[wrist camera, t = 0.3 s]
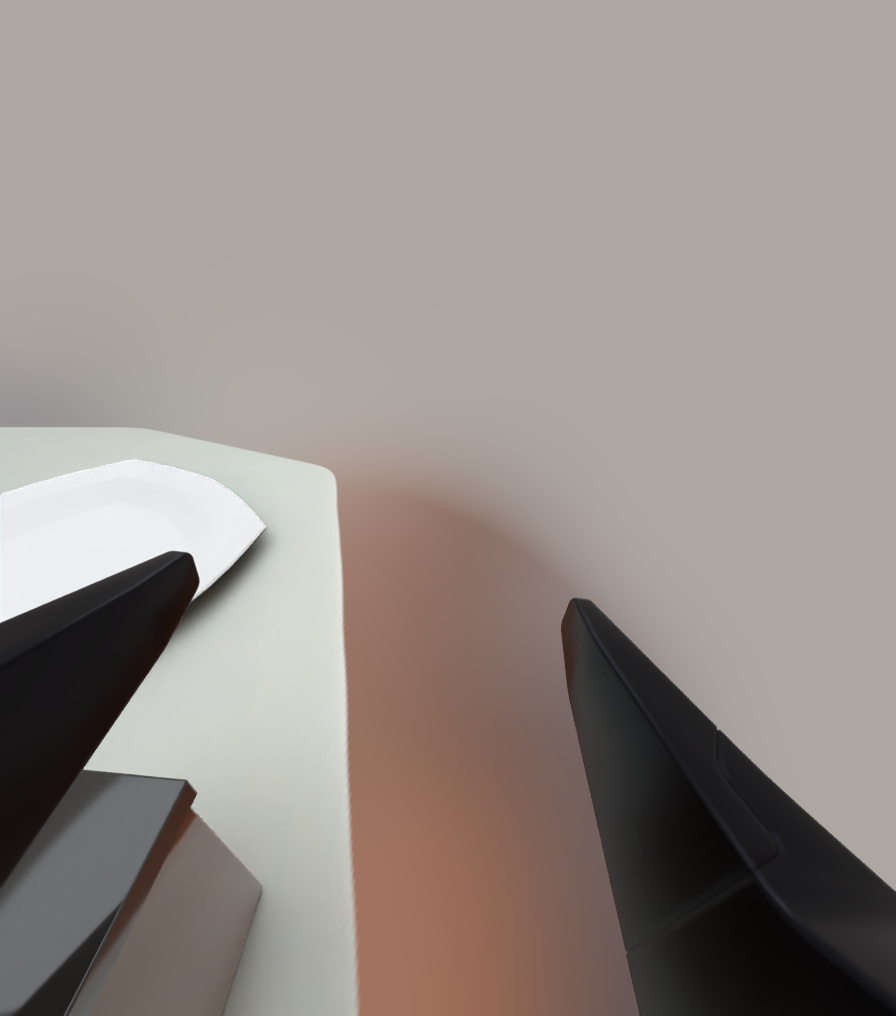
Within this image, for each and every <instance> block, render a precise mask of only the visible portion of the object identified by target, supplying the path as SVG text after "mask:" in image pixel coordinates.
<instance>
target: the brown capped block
mask: <svg viewBox="0 0 896 1016" xmlns="http://www.w3.org/2000/svg"><path fill="white" fill-rule="evenodd" d="M196 795H197V792H196V790H195V789H194V788H193V787H192V785H191V784H190V783H189V782H188V781H187V780H184V779H174V778H164V777H154V776H144V775H134V774H123V773H113V772H103V771H93V770H82V771H81V772H80V774H79V775H78V777H77V778H76V780H75V781H74V783H73V784H72V786H71V787H70V789H69V790H68V791H67V793H66V794H65V796H64V797H63V799H62V800H61V802H60V803H59V805H58V806H57V808H56V809H55V810H54V812H53V813H52V815H51V816H50V818H49V819H48V821H47V822H46V824H45V825H44V827H43V828H42V829H41V831H40V832H39V834H38V835H37V837H36V838H35V840H34V841H33V843H32V844H31V846H30V847H29V848H28V850H27V851H26V853H25V854H24V856H23V857H22V859H21V860H20V862H19V863H18V865H17V866H16V868H15V869H14V870H13V872H12V873H11V875H10V876H9V878H8V879H7V881H6V882H5V884H4V885H3V887H2V888H1V889H0V1016H222V1015H223V1012H224V1009H225V1005H226V1002H227V999H228V996H229V993H230V990H231V986H232V983H233V980H234V977H235V974H236V970H237V967H238V964H239V961H240V958H241V955H242V951H243V948H244V945H245V942H246V939H247V935H248V932H249V929H250V926H251V923H252V920H253V916H254V913H255V910H256V907H257V904H258V901H259V897H260V894H261V891H262V888H263V886H262V885H261V884H260V883H259V881H258V880H257V879H256V878H255V877H254V876H253V875H252V874H251V873H250V871H249V870H248V869H247V868H246V867H245V866H244V865H243V864H242V863H241V862H240V860H239V859H238V858H237V857H236V856H235V855H234V854H233V853H232V852H231V851H230V849H229V848H228V847H227V846H226V845H225V844H224V843H223V842H222V841H221V839H220V838H219V837H218V836H217V835H216V834H215V833H214V832H213V831H212V830H211V828H210V827H209V826H208V825H207V824H206V823H205V822H204V821H203V820H202V819H201V817H200V816H199V815H198V814H197V813H196V812H195V811H194V810H193V809H192V807H191V805H192V803H193V801H194V799H195V797H196Z"/></svg>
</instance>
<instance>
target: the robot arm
mask: <svg viewBox="0 0 896 1016" xmlns="http://www.w3.org/2000/svg"><path fill="white" fill-rule="evenodd" d="M199 583H200V579H199V575H198V571H197V568H196V565H195V562H194V558H193V556H192V555H191V554H190V553H188V552H181V551H168V552H166V553H164V554H161V555H159V556H156V557H154V558H152V559H149V560H147V561H145V562H142V563H140V564H138V565H135V566H133V567H131V568H128V569H126V570H123V571H121V572H119V573H116V574H114V575H112V576H109V577H107V578H105V579H102V580H100V581H98V582H95V583H93V584H90V585H88V586H86V587H83V588H81V589H79V590H76V591H74V592H72V593H69V594H67V595H64V596H62V597H60V598H57V599H55V600H53V601H50V602H48V603H46V604H43V605H41V606H39V607H36V608H34V609H31V610H29V611H27V612H24V613H22V614H20V615H17V616H15V617H13V618H10V619H8V620H5V621H3V622H1V623H0V889H1V888H2V887H3V885H4V884H5V882H6V881H7V879H8V878H9V876H10V875H11V873H12V872H13V870H14V869H15V868H16V866H17V865H18V863H19V862H20V860H21V859H22V857H23V856H24V854H25V853H26V851H27V850H28V848H29V847H30V846H31V844H32V843H33V841H34V840H35V838H36V837H37V835H38V834H39V832H40V831H41V829H42V828H43V827H44V825H45V824H46V822H47V821H48V819H49V818H50V816H51V815H52V813H53V812H54V810H55V809H56V808H57V806H58V805H59V803H60V802H61V800H62V799H63V797H64V796H65V794H66V793H67V791H68V790H69V789H70V787H71V786H72V784H73V783H74V781H75V780H76V778H77V777H78V775H79V774H80V772H81V771H82V770H83V768H84V767H85V765H86V764H87V762H88V761H89V759H90V758H91V756H92V755H93V753H94V752H95V750H96V749H97V748H98V746H99V745H100V743H101V742H102V740H103V739H104V737H105V736H106V734H107V733H108V731H109V730H110V729H111V727H112V726H113V724H114V723H115V721H116V720H117V718H118V717H119V715H120V714H121V712H122V711H123V710H124V708H125V707H126V705H127V704H128V702H129V701H130V699H131V698H132V696H133V695H134V693H135V692H136V691H137V689H138V688H139V686H140V685H141V683H142V682H143V680H144V679H145V677H146V676H147V674H148V673H149V672H150V670H151V669H152V667H153V666H154V664H155V663H156V661H157V660H158V658H159V657H160V655H161V654H162V652H163V651H164V649H165V648H166V646H167V644H168V643H169V641H170V639H171V637H172V636H173V634H174V632H175V630H176V628H177V626H178V625H179V623H180V621H181V619H182V617H183V615H184V614H185V612H186V610H187V608H188V606H189V604H190V603H191V601H192V599H193V597H194V595H195V593H196V592H197V590H198V587H199ZM561 633H562V643H563V652H564V661H565V670H566V678H567V687H568V694H569V699H570V704H571V708H572V713H573V717H574V722H575V726H576V730H577V735H578V740H579V744H580V749H581V753H582V757H583V762H584V766H585V771H586V775H587V780H588V784H589V788H590V793H591V798H592V802H593V807H594V811H595V816H596V820H597V825H598V829H599V833H600V838H601V842H602V847H603V851H604V856H605V860H606V865H607V869H608V874H609V878H610V883H611V887H612V892H613V896H614V901H615V905H616V910H617V914H618V918H619V923H620V928H621V932H622V936H623V941H624V946H625V949H626V951H627V952H628V953H627V960H628V964H629V969H630V974H631V978H632V982H633V987H634V992H635V996H636V1000H637V1005H638V1009H639V1014H640V1016H896V891H895V890H893V889H892V888H891V887H890V886H889V885H888V884H887V883H885V882H884V881H883V880H882V879H881V878H880V877H879V876H878V875H876V874H875V873H874V872H873V871H872V870H871V869H870V868H869V867H867V866H866V865H865V864H864V863H863V862H862V861H861V860H860V859H859V858H857V857H856V856H855V855H854V854H853V853H852V852H851V851H849V850H848V849H847V848H846V847H845V846H844V845H843V844H842V843H841V842H840V841H838V840H837V839H836V838H835V837H834V836H833V835H832V834H831V833H829V832H828V831H827V830H826V829H825V828H824V827H823V826H822V825H821V824H819V823H818V822H817V821H816V820H815V819H814V818H813V817H811V816H810V815H809V814H808V813H807V812H806V811H805V810H804V809H803V808H802V807H800V806H799V805H798V804H797V803H796V802H795V801H794V800H793V799H792V798H791V797H789V796H788V795H787V794H786V793H785V792H784V791H783V790H782V789H781V788H780V787H778V786H777V785H776V784H775V783H774V782H773V781H772V780H771V779H770V778H769V777H768V776H767V775H765V773H764V772H762V771H761V770H760V769H759V768H758V767H757V766H756V765H755V764H754V763H753V762H752V761H751V760H750V759H749V758H748V757H747V756H746V755H745V754H744V753H743V752H742V751H740V749H739V748H738V747H737V746H736V745H735V744H733V742H732V741H731V740H730V739H729V738H728V737H727V736H726V735H725V734H724V733H723V732H722V731H721V730H717V727H716V725H715V724H714V723H713V722H712V721H711V720H709V719H708V717H707V716H706V715H705V714H704V713H703V712H702V711H701V710H700V709H698V707H697V706H696V705H695V704H693V702H692V701H691V700H689V698H688V697H687V696H686V695H684V693H683V692H682V691H681V690H680V689H679V688H678V687H677V686H675V684H674V683H673V682H672V681H670V679H668V677H667V676H666V675H665V674H664V673H663V672H661V670H660V669H659V668H658V667H657V666H656V665H655V664H654V663H653V662H651V660H650V659H649V658H648V657H647V656H646V655H645V654H644V653H643V652H642V651H641V650H640V649H638V647H637V646H636V645H635V644H634V643H633V642H632V641H631V640H630V639H629V638H628V637H627V636H626V635H625V634H624V633H623V632H622V631H621V630H620V629H619V628H617V626H616V625H615V624H614V623H613V622H612V621H611V620H610V619H609V618H608V617H607V616H606V615H605V614H604V613H603V612H602V611H601V610H600V609H599V608H598V607H597V606H596V605H595V604H594V603H593V602H592V601H590V600H588V599H581V598H573V599H571V600H570V602H569V605H568V607H567V610H566V613H565V615H564V618H563V620H562V624H561Z"/></svg>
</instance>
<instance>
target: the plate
mask: <svg viewBox="0 0 896 1016" xmlns="http://www.w3.org/2000/svg"><path fill="white" fill-rule="evenodd" d="M265 529H266V525H265V524H264V523H263V522H262V521H261V519H260V518H259V517H258V516H257V515H256V514H255V512H254V511H253V510H252V509H251V508H250V507H249V506H248V505H247V504H246V503H245V502H244V501H243V500H242V499H240V498H239V497H238V496H237V495H236V494H234V493H233V492H232V491H231V490H230V489H228V488H226V487H225V486H223V485H222V484H220V483H219V482H217V481H215V480H213V479H210V478H207V477H205V476H202V475H199V474H196V473H193V472H189V471H186V470H182V469H179V468H175V467H170V466H166V465H162V464H157V463H153V462H148V461H142V460H137V459H131V460H126V461H122V462H117V463H113V464H108V465H104V466H99V467H95V468H91V469H87V470H82V471H78V472H74V473H70V474H66V475H62V476H59V477H55V478H51V479H48V480H44V481H40V482H36V483H33V484H30V485H27V486H24V487H21V488H17V489H14V490H11V491H8V492H5V493H2V494H0V623H1V622H3V621H5V620H8V619H10V618H13V617H15V616H17V615H20V614H22V613H24V612H27V611H29V610H31V609H34V608H36V607H39V606H41V605H43V604H46V603H48V602H50V601H53V600H55V599H57V598H60V597H62V596H64V595H67V594H69V593H72V592H74V591H76V590H79V589H81V588H83V587H86V586H88V585H90V584H93V583H95V582H98V581H100V580H102V579H105V578H107V577H109V576H112V575H114V574H116V573H119V572H121V571H123V570H126V569H128V568H131V567H133V566H135V565H138V564H140V563H142V562H145V561H147V560H149V559H152V558H154V557H156V556H159V555H161V554H164V553H166V552H168V551H181V552H188V553H190V554H191V555H192V556H193V558H194V562H195V565H196V568H197V571H198V575H199V579H200V583H199V587H198V590H197V592H196V593H195V595H194V597H193V599H192V601H191V602H193V601H194V600H195V599H196V598H198V597H199V596H200V595H202V594H203V593H204V592H206V591H207V590H208V589H209V588H210V587H211V586H212V585H213V584H214V583H215V582H216V581H217V580H219V579H220V578H221V577H222V576H223V575H224V574H225V573H226V572H227V571H228V570H229V569H230V568H231V567H232V566H233V565H234V564H235V563H236V562H237V561H238V560H239V558H240V557H241V556H242V555H243V554H244V553H245V552H246V551H247V550H248V549H249V548H250V546H251V545H252V544H253V543H254V542H255V541H256V540H257V538H258V537H259V536H260V535H261V534H262V533H263V532H264V530H265Z"/></svg>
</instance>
